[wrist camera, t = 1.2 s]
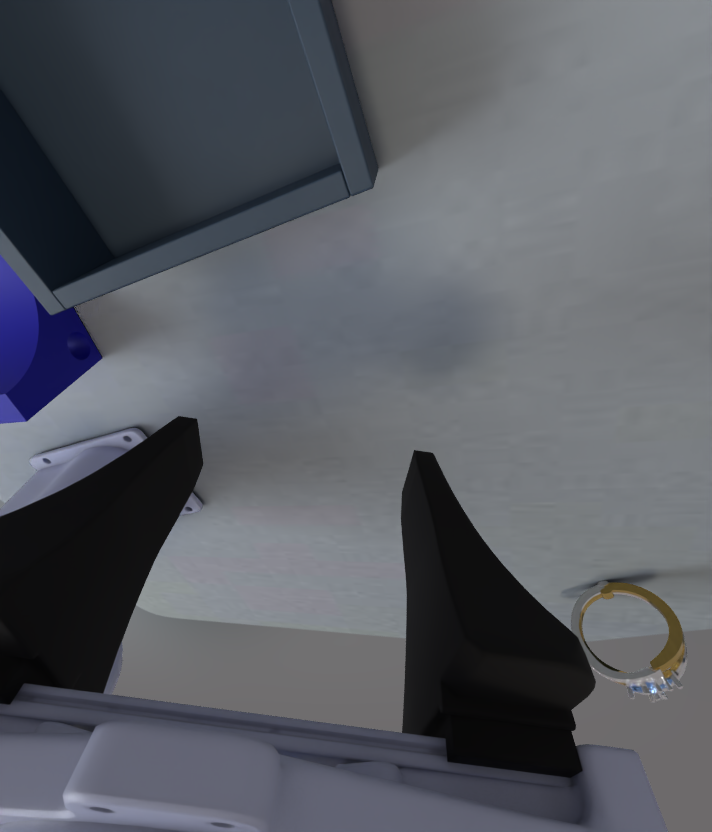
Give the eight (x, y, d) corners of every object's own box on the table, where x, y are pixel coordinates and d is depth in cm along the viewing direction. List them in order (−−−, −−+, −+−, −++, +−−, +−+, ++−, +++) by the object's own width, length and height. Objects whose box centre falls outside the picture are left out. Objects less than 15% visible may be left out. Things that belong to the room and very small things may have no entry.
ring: (648, 562, 31) (715, 680, 24) (654, 584, 32) (719, 701, 26) (552, 582, 33) (591, 695, 27) (562, 602, 35) (601, 713, 28)
